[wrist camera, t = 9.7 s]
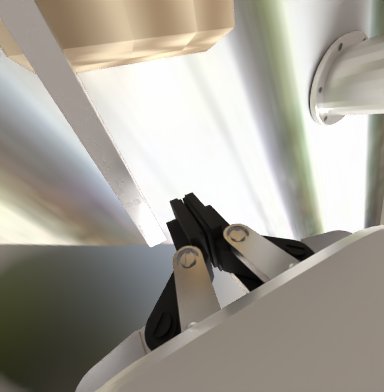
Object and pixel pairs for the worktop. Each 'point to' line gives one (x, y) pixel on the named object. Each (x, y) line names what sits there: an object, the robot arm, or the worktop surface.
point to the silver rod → (76, 107)
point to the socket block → (129, 30)
